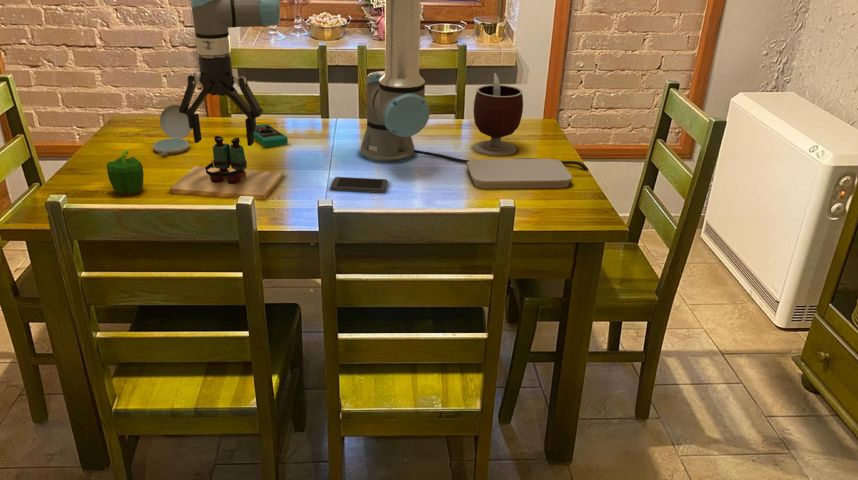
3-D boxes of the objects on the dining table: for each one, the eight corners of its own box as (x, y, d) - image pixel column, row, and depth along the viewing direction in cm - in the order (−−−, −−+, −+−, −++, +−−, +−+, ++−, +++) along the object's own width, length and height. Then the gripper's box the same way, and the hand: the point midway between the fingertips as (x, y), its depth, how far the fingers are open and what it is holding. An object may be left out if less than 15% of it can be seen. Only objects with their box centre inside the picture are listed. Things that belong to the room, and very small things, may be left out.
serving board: (282, 176, 192) (282, 172, 192) (264, 200, 178) (263, 195, 178) (195, 170, 195) (194, 166, 194) (170, 193, 181) (169, 188, 181)
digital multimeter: (269, 131, 225) (268, 122, 224) (288, 145, 214) (288, 135, 213) (246, 135, 222) (245, 125, 221) (265, 149, 211) (264, 139, 210)
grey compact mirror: (193, 104, 211) (175, 119, 197) (197, 141, 216) (180, 158, 203) (159, 103, 211) (138, 118, 198) (164, 140, 216) (145, 157, 203)
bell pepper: (131, 200, 177) (124, 160, 172) (104, 194, 179) (96, 155, 175) (154, 188, 184) (148, 150, 179) (128, 183, 186) (121, 145, 181)
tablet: (464, 167, 201) (465, 159, 200) (557, 166, 203) (558, 158, 202) (474, 189, 187) (474, 181, 186) (574, 188, 189) (575, 180, 188)
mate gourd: (523, 156, 209) (530, 86, 199) (474, 157, 208) (479, 86, 199) (512, 139, 223) (518, 72, 213) (467, 139, 222) (471, 72, 212)
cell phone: (335, 179, 191) (334, 176, 190) (388, 182, 190) (388, 179, 189) (329, 189, 184) (329, 187, 184) (384, 192, 183) (384, 189, 183)
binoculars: (197, 148, 177) (214, 132, 185) (204, 187, 183) (220, 170, 192) (232, 151, 176) (247, 135, 184) (238, 191, 182) (252, 173, 190)
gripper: (156, 56, 169) (170, 144, 180) (261, 60, 166) (268, 150, 177) (170, 49, 176) (182, 135, 186) (271, 53, 173) (277, 140, 183)
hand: (224, 142), depth 181 cm, fingers open, 13 cm apart
